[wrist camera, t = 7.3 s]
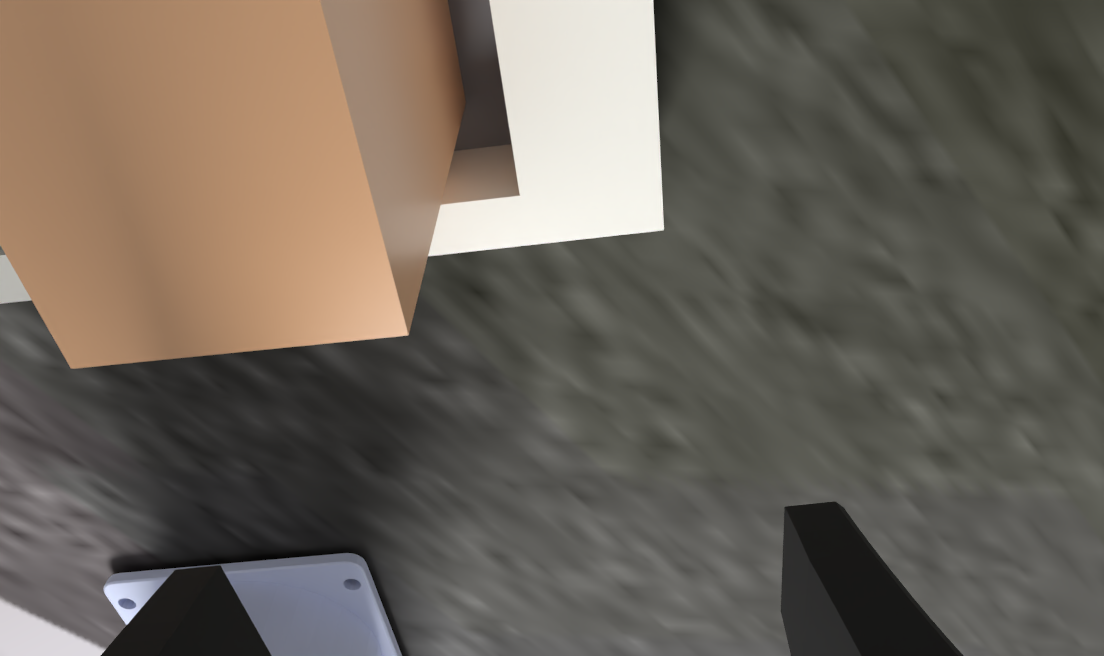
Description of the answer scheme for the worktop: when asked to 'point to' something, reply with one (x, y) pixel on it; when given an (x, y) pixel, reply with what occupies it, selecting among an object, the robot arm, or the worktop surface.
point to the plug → (223, 169)
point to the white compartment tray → (542, 127)
